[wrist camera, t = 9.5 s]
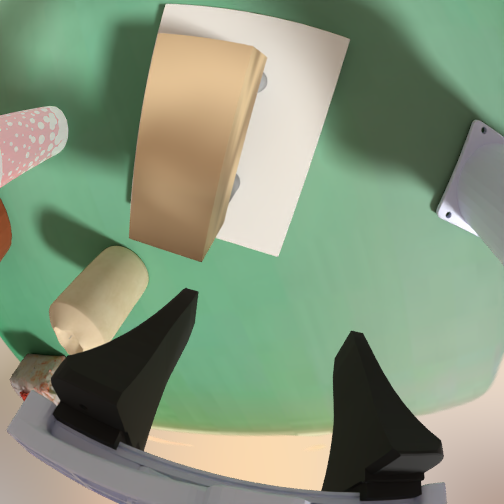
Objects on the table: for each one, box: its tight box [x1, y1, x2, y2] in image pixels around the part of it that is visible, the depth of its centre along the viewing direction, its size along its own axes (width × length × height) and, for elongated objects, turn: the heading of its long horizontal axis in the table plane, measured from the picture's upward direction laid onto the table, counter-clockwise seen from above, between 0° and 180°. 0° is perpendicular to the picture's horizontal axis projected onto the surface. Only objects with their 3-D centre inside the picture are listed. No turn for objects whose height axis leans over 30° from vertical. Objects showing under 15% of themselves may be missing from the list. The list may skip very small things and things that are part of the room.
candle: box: [49, 246, 149, 355], centre depth 23 cm, size 6×6×10 cm
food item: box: [10, 354, 66, 406], centre depth 38 cm, size 14×8×10 cm, turn 109°
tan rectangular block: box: [129, 33, 267, 262], centre depth 14 cm, size 10×4×4 cm, turn 165°
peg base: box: [130, 4, 350, 257], centre depth 18 cm, size 12×16×4 cm
